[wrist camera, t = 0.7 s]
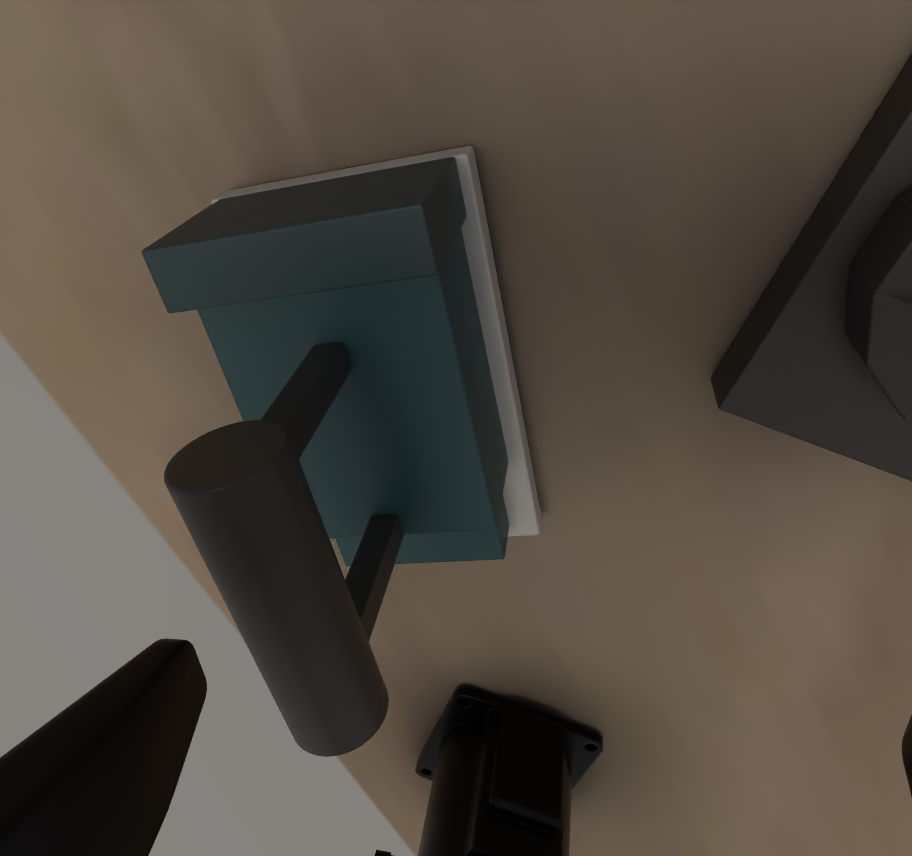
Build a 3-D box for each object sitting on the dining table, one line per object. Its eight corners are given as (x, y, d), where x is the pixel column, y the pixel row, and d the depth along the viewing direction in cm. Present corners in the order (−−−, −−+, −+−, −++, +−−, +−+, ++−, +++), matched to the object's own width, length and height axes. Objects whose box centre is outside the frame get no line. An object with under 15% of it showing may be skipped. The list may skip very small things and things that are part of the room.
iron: (542, 516, 24) (511, 832, 16) (346, 527, 26) (220, 818, 17) (473, 144, 18) (360, 322, 10) (224, 190, 20) (-66, 377, 11)
